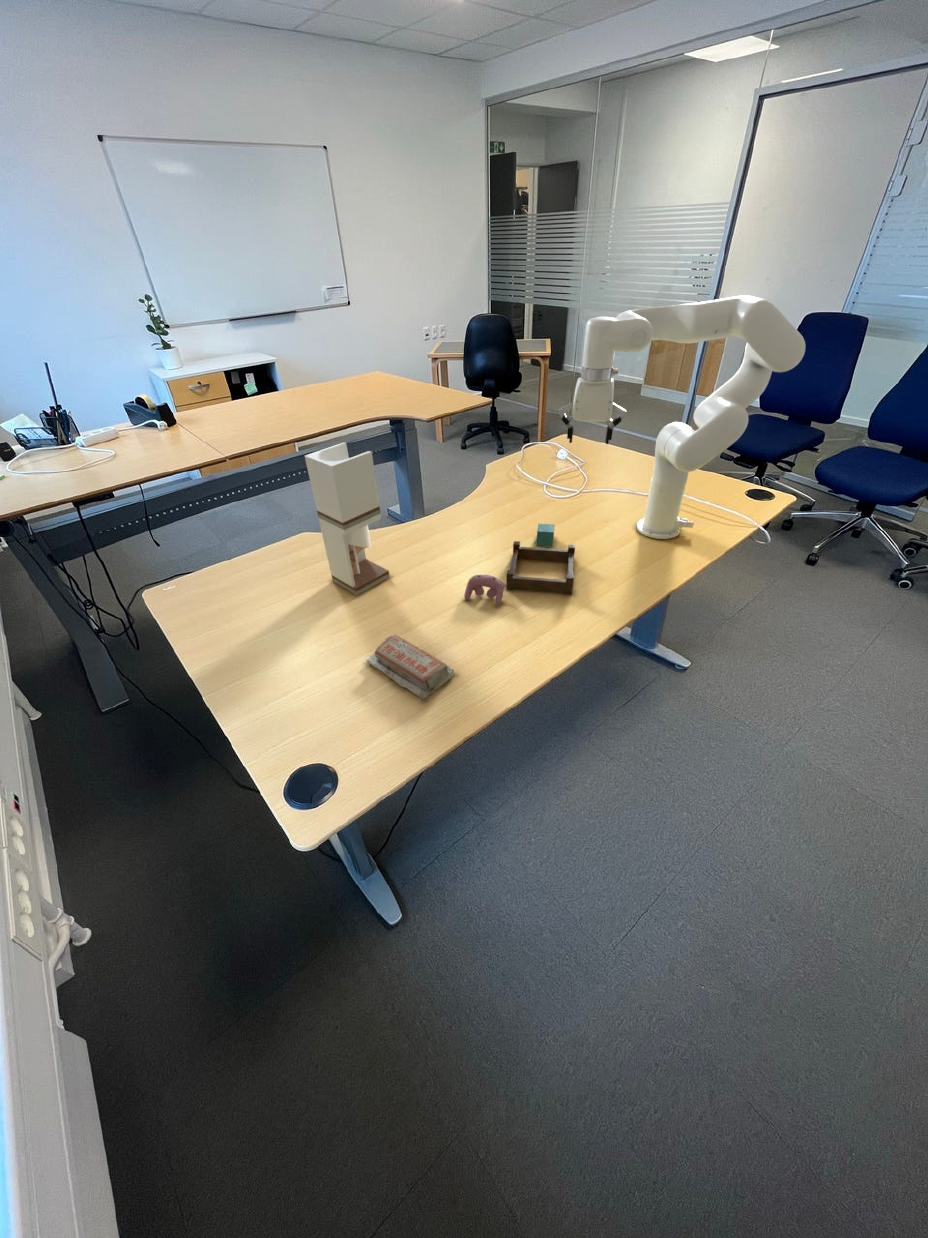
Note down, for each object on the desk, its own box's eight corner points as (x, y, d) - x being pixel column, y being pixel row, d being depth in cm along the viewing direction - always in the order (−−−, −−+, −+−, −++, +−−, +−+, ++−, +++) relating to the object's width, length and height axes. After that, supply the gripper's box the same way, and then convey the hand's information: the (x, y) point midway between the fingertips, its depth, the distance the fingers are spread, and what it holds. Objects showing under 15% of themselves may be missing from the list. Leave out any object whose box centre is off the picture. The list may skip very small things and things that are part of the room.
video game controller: (503, 604, 134) (507, 577, 132) (499, 606, 129) (503, 579, 128) (467, 597, 136) (470, 571, 135) (462, 600, 132) (465, 573, 130)
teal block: (553, 538, 156) (554, 524, 154) (552, 546, 153) (553, 532, 150) (537, 537, 157) (538, 523, 154) (536, 545, 154) (537, 531, 151)
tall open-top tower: (356, 595, 136) (331, 466, 115) (332, 580, 142) (304, 455, 121) (389, 576, 143) (371, 451, 121) (365, 563, 148) (344, 442, 127)
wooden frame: (573, 560, 146) (575, 544, 143) (571, 594, 133) (573, 578, 130) (513, 556, 149) (513, 541, 146) (506, 589, 136) (506, 573, 133)
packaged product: (455, 658, 108) (421, 685, 103) (456, 675, 111) (423, 701, 106) (396, 624, 118) (363, 647, 112) (399, 641, 121) (366, 663, 115)
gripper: (631, 370, 132) (620, 438, 142) (562, 370, 135) (557, 436, 145) (632, 377, 126) (622, 447, 136) (560, 377, 129) (555, 445, 139)
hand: (588, 441), depth 141 cm, fingers open, 9 cm apart
